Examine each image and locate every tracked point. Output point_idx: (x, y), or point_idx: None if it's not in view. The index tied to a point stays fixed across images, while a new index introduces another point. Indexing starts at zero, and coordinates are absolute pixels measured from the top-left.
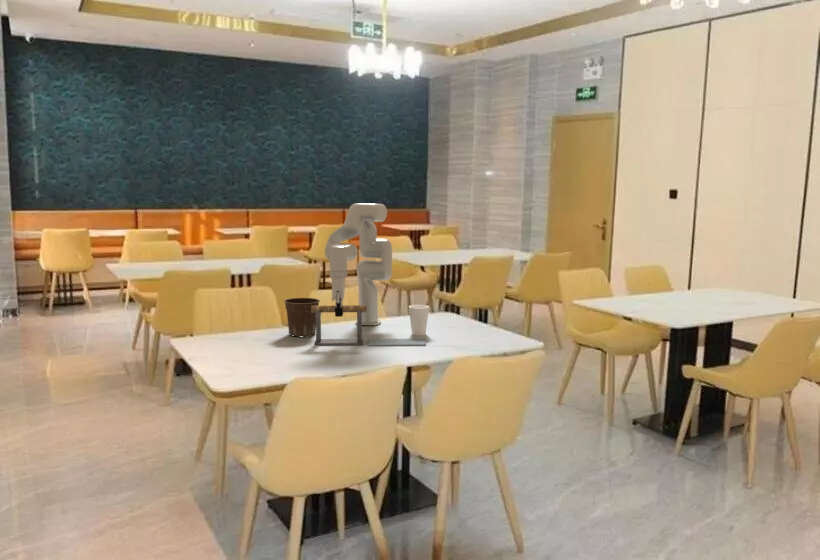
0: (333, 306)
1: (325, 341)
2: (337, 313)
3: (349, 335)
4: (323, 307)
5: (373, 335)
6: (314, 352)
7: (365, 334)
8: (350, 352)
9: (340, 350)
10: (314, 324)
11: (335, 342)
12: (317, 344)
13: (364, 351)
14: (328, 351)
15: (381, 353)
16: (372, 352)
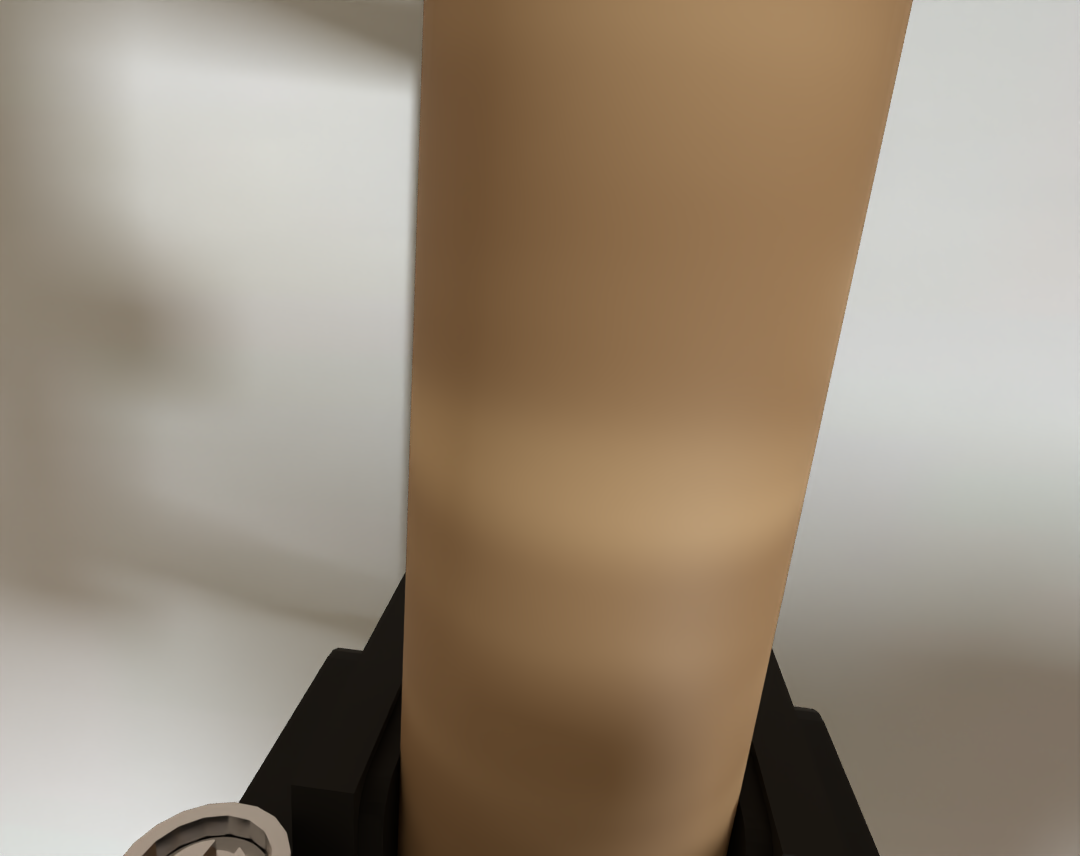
0: (460, 748)
1: None
2: (325, 682)
3: (1069, 579)
4: (443, 74)
5: (963, 853)
6: (11, 15)
7: (1059, 777)
8: (66, 518)
9: (158, 404)
10: None
11: None
12: None
13: (128, 669)
14: (91, 238)
15: (57, 810)
16: (90, 739)
